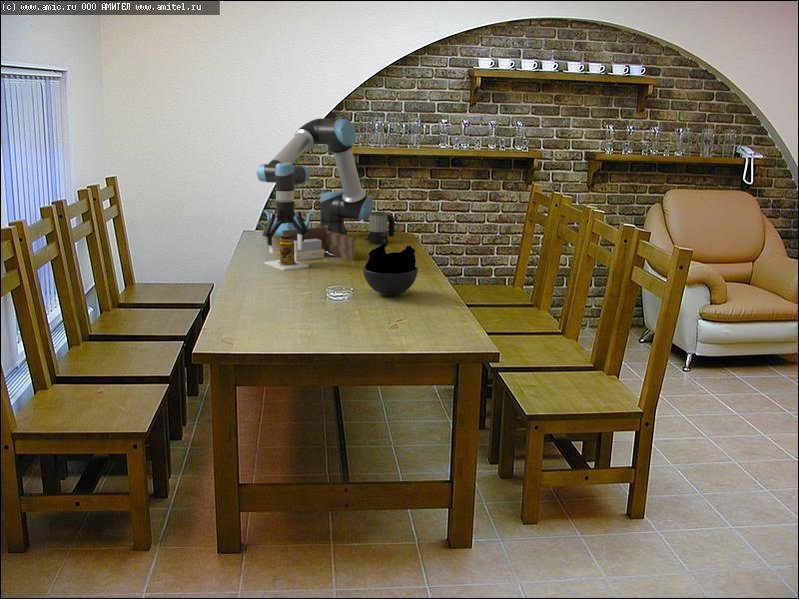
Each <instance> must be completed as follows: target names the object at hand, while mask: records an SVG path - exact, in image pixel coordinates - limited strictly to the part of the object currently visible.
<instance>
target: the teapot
mask: <svg viewBox="0 0 799 599" xmlns="http://www.w3.org/2000/svg"><path fill="white" fill-rule="evenodd" d="M263 212H264V213H265V214H266V216H267V222H268V221H269V216H270V212H269V211H266V210H263ZM314 213H315V211H311V212H308V213H307V215H306V220H305V221H304V223H305V225H306V227H307V228H309V226H310V223H311V222H310V221H311V216H312V214H314ZM276 220H277V217H276V218H275V220H274V223H273V225H274V224H275V221H276ZM294 220H295V221H296V223H297V224H298V225H299V226H300V224H299V222H298V220H297V218H296V216H294ZM273 225H272V227H273ZM300 228H301V226H300ZM293 229H295V227H294V226H293V225H292V224H291V223H285V224H283V223H282V224H281V225H280V226H279V228H278V229H277V231H276V232H275V234H274V235H275V236H276V237H279V238H278V240H279V239H281V236H282V231H283V230H293ZM301 229H302V228H301Z"/></svg>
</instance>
